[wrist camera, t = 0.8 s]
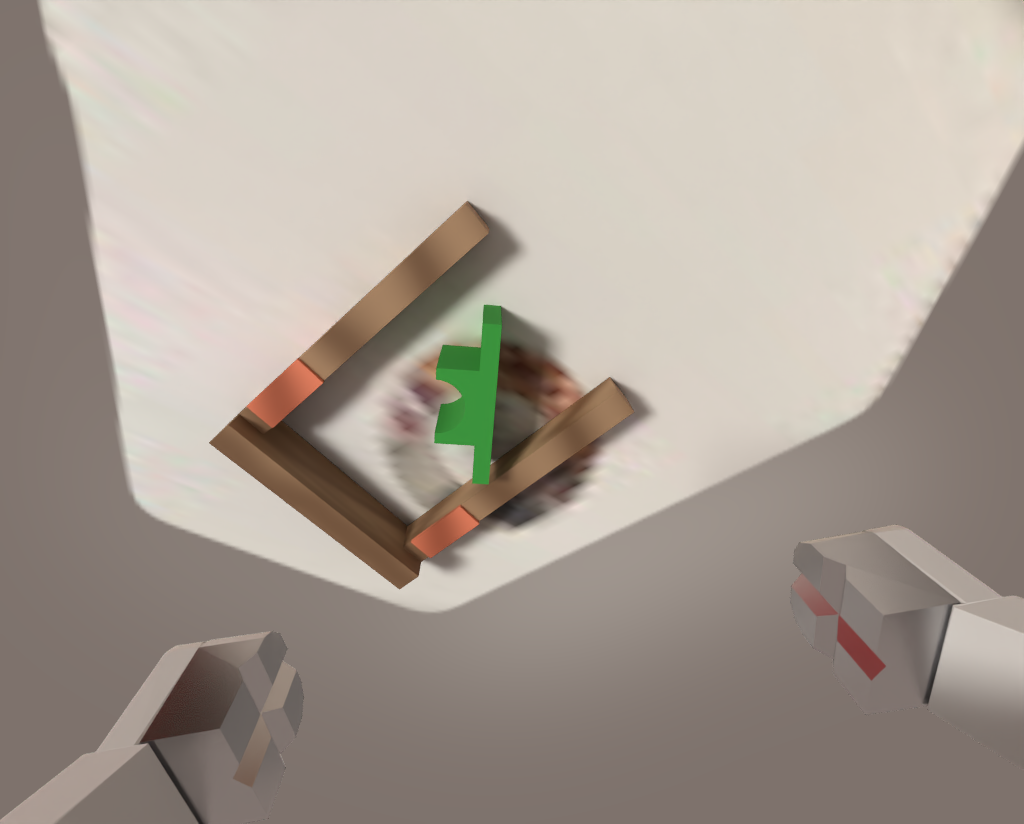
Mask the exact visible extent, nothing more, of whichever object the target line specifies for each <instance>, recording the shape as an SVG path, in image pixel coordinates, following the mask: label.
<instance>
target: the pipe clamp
mask: <svg viewBox="0 0 1024 824" xmlns="http://www.w3.org/2000/svg"><path fill="white" fill-rule="evenodd" d="M501 330H502V318H501V306H494V305H484V311H483V326H482V342H481V348H478V347H464V346H451V345H443V346H442V350H441V353H440V357H439V360H438V364H437V368H436V380H442V381H445V382H448V383H450V384H451V385H453V386H454V387H455V388H457V389H458V391H459V392H460V393H461V395H462V397H461V398H460V399H458V400H457V401H455V402H452V403H449V404H441V407H440V411H439V416H438V420H437V425H436V430H435V442H434V443H440V444H457V445H473V446H475V449H474V464H473V479H472V484H489V474H490V462H491V450H492V438H493V426H494V414H495V402H496V390H497V378H498V366H499V354H500V342H501Z"/></svg>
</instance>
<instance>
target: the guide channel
mask: <svg viewBox="0 0 1024 824" xmlns="http://www.w3.org/2000/svg"><path fill="white" fill-rule="evenodd" d="M488 233H489V227H488V226H487V225H486V223H485V222H484V221H483V220H482V218H481V217H480V216H479V215H478V213H477V212H476V211H475V210H474V208H473V207H472V206H471V205H470V204H469V202H468V201H467V202H466V203H464V204H463V205H462V206H461V207H460V208H459V209H458V210H457V211H456V212H455V213H454V214H453V215H452V216H451V217H449V218H448V219H447V220H446V221H445V222H444V223H443V224H442V225H441V226H440V227H439V228H438V229H437V230H435V231H434V232H433V233H432V234H431V235H430V236H429V237H428V238H427V239H426V240H425V241H424V242H423V243H422V244H420V245H419V246H418V247H417V248H416V249H415V250H414V251H413V252H412V253H411V254H410V255H409V256H408V257H406V258H405V259H404V260H403V261H402V262H401V263H400V264H399V265H398V266H397V267H396V268H395V269H394V270H393V271H391V272H390V273H389V274H388V275H387V276H386V277H385V278H384V279H383V280H382V281H381V282H380V283H379V284H378V285H376V286H375V287H374V288H373V289H372V290H371V291H370V292H369V293H368V294H367V295H366V296H365V297H364V298H362V299H361V300H360V301H359V302H358V303H357V304H356V305H355V306H354V307H353V308H352V309H351V310H350V311H349V312H347V313H346V314H345V315H344V316H343V317H342V318H341V319H340V320H339V321H338V322H337V323H336V324H335V325H333V326H332V327H331V328H330V329H329V330H328V331H327V332H326V333H325V334H324V335H323V336H322V337H321V338H320V339H318V340H317V341H316V342H315V343H314V344H313V345H312V346H311V347H310V348H309V349H308V350H307V351H306V352H304V353H303V354H302V355H301V356H300V357H299V358H298V359H297V360H296V361H295V362H293V363H292V364H291V365H290V366H289V367H288V368H287V369H286V370H285V371H284V372H283V373H282V374H281V375H280V376H278V377H277V378H276V379H275V380H274V381H273V382H272V383H271V384H270V385H269V386H268V387H267V388H266V389H264V390H263V391H262V392H261V393H260V394H259V395H258V396H257V397H256V398H255V399H254V400H253V401H252V402H251V403H249V404H248V405H247V406H246V407H245V408H244V409H243V410H242V411H241V412H240V413H239V414H238V415H237V416H236V417H235V418H234V419H233V420H232V421H231V422H230V423H229V424H228V425H227V426H226V427H225V428H224V429H223V430H222V431H221V432H220V433H219V434H218V435H216V436H215V437H214V438H213V439H212V440H211V441H210V442H209V443H210V444H211V445H212V446H214V447H215V448H216V449H217V450H219V451H220V452H221V453H223V454H224V455H225V456H227V457H228V458H229V459H230V460H232V461H233V462H234V463H236V464H237V465H238V466H240V467H241V468H242V469H243V470H245V471H246V472H247V473H249V474H250V475H251V476H253V477H254V478H255V479H257V480H258V481H259V482H260V483H262V484H263V485H264V486H266V487H267V488H268V489H270V490H271V491H272V492H273V493H275V494H276V495H277V496H279V497H280V498H281V499H283V500H284V501H285V502H286V503H288V504H289V505H290V506H292V507H293V508H294V509H296V510H297V511H298V512H299V513H301V514H302V515H303V516H305V517H306V518H307V519H309V520H310V521H311V522H312V523H314V524H315V525H316V526H318V527H319V528H320V529H322V530H323V531H324V532H326V533H327V534H328V535H329V536H331V537H332V538H333V539H335V540H336V541H337V542H339V543H340V544H341V545H342V546H344V547H345V548H346V549H348V550H349V551H350V552H352V553H353V554H354V555H355V556H357V557H358V558H359V559H361V560H362V561H363V562H365V563H366V564H367V565H368V566H370V567H371V568H372V569H374V570H375V571H376V572H378V573H379V574H380V575H382V576H383V577H384V578H385V579H387V580H388V581H389V582H391V583H392V584H393V585H395V586H396V587H397V588H398V589H401V588H402V587H404V586H405V585H407V584H408V583H410V582H411V581H412V580H414V579H415V578H417V577H418V576H419V571H420V565H421V562H422V561H423V560H425V559H426V558H428V557H429V558H432V557H433V556H435V555H436V554H437V553H439V552H440V551H442V550H443V549H444V548H446V547H447V546H449V545H450V544H452V543H453V542H454V541H456V540H457V539H459V538H460V537H462V536H463V535H464V534H466V533H467V532H469V531H470V530H472V529H473V528H474V527H476V526H477V525H479V521H480V520H482V519H483V518H484V517H486V516H487V515H489V514H490V513H492V512H493V511H494V510H496V509H497V508H499V507H500V506H501V505H503V504H504V503H506V502H507V501H509V500H510V499H511V498H513V497H514V496H516V495H517V494H519V493H520V492H521V491H523V490H524V489H526V488H527V487H528V486H530V485H531V484H533V483H534V482H536V481H537V480H538V479H540V478H541V477H543V476H544V475H546V474H547V473H548V472H550V471H551V470H553V469H554V468H555V467H557V466H558V465H560V464H561V463H563V462H564V461H565V460H567V459H568V458H570V457H571V456H573V455H574V454H575V453H577V452H578V451H580V450H581V449H582V448H584V447H585V446H587V445H588V444H590V443H591V442H592V441H594V440H595V439H597V438H598V437H600V436H601V435H602V434H604V433H605V432H607V431H608V430H609V429H611V428H612V427H614V426H615V425H617V424H618V423H619V422H621V421H622V420H624V419H625V418H627V417H628V416H629V415H631V414H632V413H634V411H633V409H632V407H631V405H630V404H629V402H628V400H627V398H626V397H625V395H624V394H623V393H622V392H621V391H620V389H619V388H618V387H617V386H616V384H615V383H614V382H613V381H612V379H611V378H610V377H609V378H608V379H607V380H605V381H604V382H603V383H601V384H600V385H598V386H597V387H596V388H594V389H593V390H592V391H590V392H589V393H588V394H586V395H585V396H584V397H582V398H581V399H579V400H578V401H577V402H575V403H574V404H573V405H571V406H570V407H569V408H567V409H566V410H565V411H563V412H562V413H560V414H559V415H558V416H556V417H555V418H554V419H552V420H551V421H550V422H548V423H547V424H546V425H544V426H543V427H541V428H540V429H539V430H537V431H536V432H535V433H533V434H532V435H531V436H529V437H528V438H526V439H525V440H524V441H522V442H521V443H520V444H518V445H517V446H516V447H514V448H513V449H512V450H510V451H509V452H507V453H506V454H505V455H503V456H502V457H501V458H499V459H498V460H497V461H495V462H494V463H493V464H491V465H490V474H489V484H472V479H473V478H472V479H471V480H469V481H468V482H467V483H465V484H464V485H463V486H461V487H460V488H459V489H457V490H456V491H455V492H453V493H452V494H450V495H449V496H448V497H446V498H445V499H444V500H442V501H441V502H440V503H438V504H437V505H436V506H434V507H433V508H431V509H430V510H429V511H427V512H426V513H425V514H423V515H422V516H421V517H419V518H418V519H417V520H415V521H414V522H412V523H411V524H410V525H408V526H407V525H406V524H404V523H403V522H402V521H401V520H400V519H399V518H397V517H396V516H395V515H394V514H393V513H391V512H390V511H389V510H388V509H387V508H385V507H384V506H383V505H382V504H381V503H379V502H378V501H377V500H376V499H375V498H373V497H372V496H371V495H370V494H369V493H367V492H366V491H365V490H364V489H363V488H361V487H360V486H359V485H358V484H357V483H356V482H354V481H353V480H352V479H351V478H350V477H348V476H347V475H346V474H345V473H344V472H342V471H341V470H340V469H339V468H338V467H336V466H335V465H334V464H333V463H332V462H330V461H329V460H328V459H327V458H326V457H324V456H323V455H322V454H321V453H320V452H319V451H317V450H316V449H315V448H314V447H313V446H311V445H310V444H309V443H308V442H307V441H305V440H304V439H303V438H302V437H301V436H299V435H298V434H297V433H296V432H295V431H293V430H292V429H291V428H290V427H289V426H287V425H286V424H285V423H284V422H283V421H282V419H283V418H285V417H286V416H287V415H288V414H289V413H290V412H291V411H292V410H294V409H295V408H296V407H297V406H298V405H299V404H300V403H301V402H302V401H304V400H305V399H306V398H307V397H308V396H309V395H310V394H311V393H313V392H314V391H315V390H316V389H317V388H318V387H319V386H320V385H321V384H323V383H324V380H325V379H326V378H328V377H329V376H330V375H331V374H332V373H333V372H334V371H335V370H336V369H338V368H339V367H340V366H341V365H342V364H343V363H344V362H345V361H346V360H348V359H349V358H350V357H351V356H352V355H353V354H354V353H355V352H357V351H358V350H359V349H360V348H361V347H362V346H363V345H364V344H365V343H367V342H368V341H369V340H370V339H371V338H372V337H373V336H374V335H376V334H377V333H378V332H379V331H380V330H381V329H382V328H383V327H384V326H386V325H387V324H388V323H389V322H390V321H391V320H392V319H393V318H394V317H396V316H397V315H398V314H399V313H400V312H401V311H402V310H403V309H405V308H406V307H407V306H408V305H409V304H410V303H411V302H412V301H413V300H415V299H416V298H417V297H418V296H419V295H420V294H421V293H422V292H424V291H425V290H426V289H427V288H428V287H429V286H430V285H431V284H432V283H434V282H435V281H436V280H437V279H438V278H439V277H440V276H441V275H443V274H444V273H445V272H446V271H447V270H448V269H449V268H450V267H451V266H453V265H454V264H455V263H456V262H457V261H458V260H459V259H460V258H461V257H463V256H464V255H465V254H466V253H467V252H468V251H469V250H470V249H472V248H473V247H474V246H475V245H476V244H477V243H478V242H479V241H480V240H482V239H483V238H484V237H485V236H486V235H487V234H488Z"/></svg>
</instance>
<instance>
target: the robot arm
mask: <svg viewBox="0 0 1024 824" xmlns="http://www.w3.org/2000/svg"><path fill="white" fill-rule="evenodd" d="M793 564H794V565H795V566H796V567H797V568H798V569H799V571H800V572H801V574H800V576H799V577H798V578H797V579H796V581H795V582H794V583H793V584H792V586H791V607H792V610H793V614H794V618H795V621H796V623H797V625H798V626H799V628H800V630H801V632H802V634H803V636H804V637H805V638H806V640H807V641H808V642H809V643H810V645H811V646H812V648H813V649H815V650H817V651H819V652H821V653H823V654H825V655H827V656H828V657H830V658H832V659H833V674H834V676H835V677H836V678H837V680H838V681H839V682H840V683H841V685H842V686H843V687H844V688H845V690H846V691H847V692H848V694H849V695H850V696H851V697H852V699H853V700H854V701H855V702H856V704H857V705H858V706H859V708H860V709H861V710H862V711H863V713H864V714H865V715H869V714H876V713H883V712H890V711H897V710H904V709H911V708H918V707H925V706H928V707H927V710H928V711H930V712H931V713H933V714H934V715H936V716H938V717H939V718H941V719H943V720H944V721H946V722H947V723H949V724H950V725H952V726H953V727H955V728H957V729H958V730H960V731H961V732H963V733H964V734H966V735H968V736H969V737H971V738H972V739H974V740H975V741H977V742H979V743H980V744H982V745H983V746H985V747H987V748H988V749H990V750H991V751H993V752H995V753H996V754H998V755H999V756H1001V757H1002V758H1004V759H1005V760H1007V761H1009V762H1010V763H1012V764H1013V765H1015V766H1017V767H1018V768H1020V769H1021V770H1023V771H1024V599H1023V598H1020V597H1018V596H1015V595H1012V596H1005V597H1002V596H1001V595H999V594H998V593H996V592H995V591H994V590H992V589H991V588H989V587H988V586H987V585H985V584H984V583H983V582H981V581H980V580H978V579H977V578H976V577H974V576H973V575H972V574H970V573H969V572H967V571H966V570H965V569H963V568H962V567H961V566H959V565H958V564H956V563H955V562H954V561H952V560H951V559H949V558H948V557H947V556H945V555H944V554H943V553H941V552H940V551H938V550H937V549H935V548H934V547H933V546H932V545H930V544H929V543H927V542H926V541H925V540H923V539H922V538H921V537H919V536H918V535H916V534H915V533H914V532H912V531H911V530H910V529H908V528H905V527H902V526H899V525H890V526H885V527H879V528H874V529H869V530H864V531H862V532H855V533H849V534H844V535H838V536H832V537H827V538H821V539H816V540H810V541H804V542H799V544H798V545H797V547H796V549H795V551H794V560H793ZM286 651H287V646H286V644H285V642H284V640H283V638H282V636H281V634H280V633H277V632H273V631H270V632H263V633H256V634H249V635H242V636H235V637H228V638H222V639H214V640H208V641H206V642H199V643H192V644H184V645H177V646H175V647H173V648H172V649H170V650H169V651H167V652H165V654H164V655H163V657H162V658H161V659H160V661H159V662H158V664H157V665H156V667H155V668H154V670H153V671H152V673H151V674H150V675H149V677H148V678H147V680H146V681H145V682H144V684H143V685H142V687H141V688H140V690H139V691H138V693H137V694H136V695H135V697H134V698H133V699H132V701H131V702H130V704H129V705H128V707H127V708H126V710H125V711H124V712H123V714H122V715H121V717H120V718H119V720H118V721H117V722H116V724H115V725H114V727H113V728H112V730H111V731H110V733H109V734H108V735H107V737H106V738H105V740H104V741H103V742H102V744H101V745H100V747H99V748H98V750H97V751H96V752H93V753H88V754H84V755H82V756H81V757H80V758H79V759H77V760H76V761H75V762H74V763H72V764H71V765H70V766H69V767H67V768H66V769H65V770H63V771H62V772H61V773H59V774H58V775H57V776H56V777H54V778H53V779H52V780H51V781H49V782H48V783H47V784H45V785H44V786H43V787H42V788H40V789H39V790H38V791H37V792H35V793H34V794H33V795H31V796H30V797H29V798H28V799H26V800H25V801H24V802H23V803H21V804H20V805H19V806H17V807H16V808H15V809H14V810H12V811H11V812H10V813H9V814H7V815H6V816H5V817H3V818H2V819H1V820H0V824H246V823H250V822H255V821H260V820H265V819H269V816H270V813H271V810H272V807H273V804H274V801H275V798H276V795H277V792H278V789H279V786H280V783H281V780H282V778H283V775H284V772H285V768H286V767H285V765H284V762H283V760H282V757H281V753H282V752H283V751H284V749H285V748H286V747H287V746H288V745H289V744H290V743H291V742H292V741H293V740H294V739H295V738H296V735H297V732H298V729H299V725H300V723H301V719H302V712H303V700H304V695H303V689H302V682H301V679H300V677H299V674H298V672H297V670H296V669H294V668H293V667H291V666H289V665H288V664H286V663H285V662H283V659H284V657H285V654H286Z"/></svg>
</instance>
